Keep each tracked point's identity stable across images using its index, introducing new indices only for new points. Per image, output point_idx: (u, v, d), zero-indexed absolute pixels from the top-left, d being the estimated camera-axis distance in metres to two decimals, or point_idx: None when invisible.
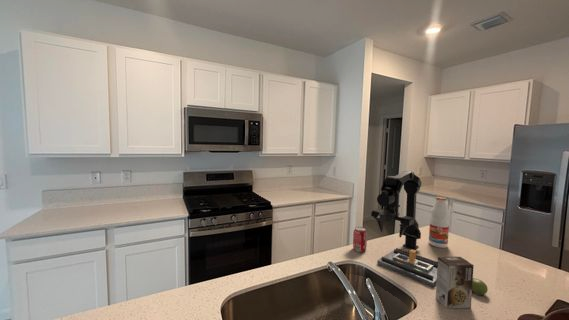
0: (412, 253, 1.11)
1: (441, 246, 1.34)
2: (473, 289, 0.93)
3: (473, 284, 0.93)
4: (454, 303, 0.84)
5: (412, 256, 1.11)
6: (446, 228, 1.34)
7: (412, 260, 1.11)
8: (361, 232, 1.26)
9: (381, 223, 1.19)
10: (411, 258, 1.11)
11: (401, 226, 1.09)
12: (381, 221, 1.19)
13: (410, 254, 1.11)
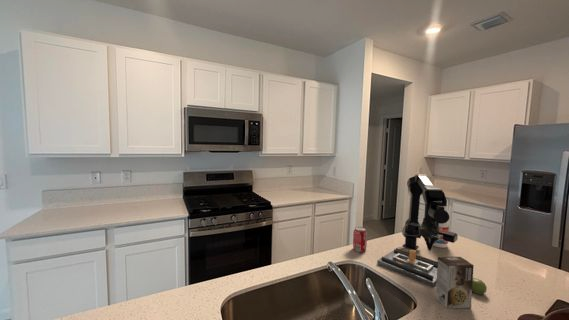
0: (412, 253, 1.11)
1: (441, 246, 1.34)
2: (472, 288, 0.93)
3: (472, 283, 0.93)
4: (454, 303, 0.84)
5: (412, 256, 1.11)
6: (446, 228, 1.34)
7: (412, 260, 1.11)
8: (361, 232, 1.26)
9: (429, 241, 1.06)
10: (411, 258, 1.11)
11: (432, 239, 1.03)
12: (429, 239, 1.06)
13: (410, 254, 1.11)
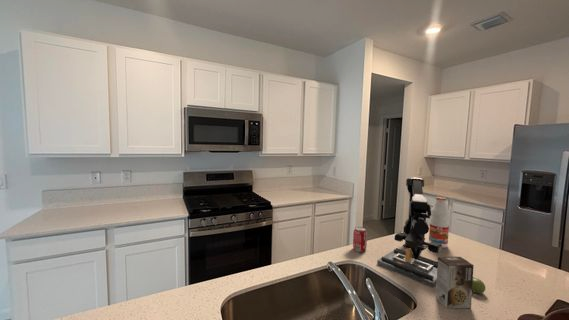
0: (408, 252, 1.12)
1: None
2: None
3: None
4: (454, 303, 0.84)
5: (408, 255, 1.12)
6: (446, 228, 1.34)
7: (408, 259, 1.12)
8: (361, 232, 1.26)
9: (415, 251, 1.11)
10: (407, 256, 1.12)
11: (418, 249, 1.08)
12: (415, 248, 1.11)
13: (406, 253, 1.13)
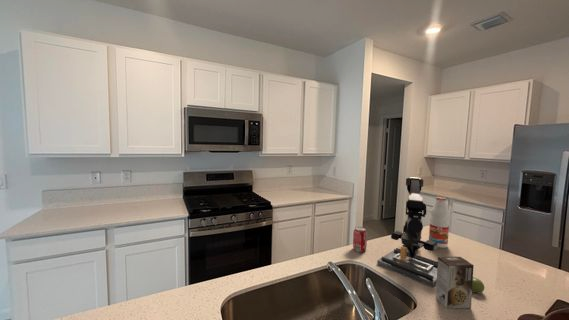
0: (403, 250, 1.14)
1: (441, 246, 1.34)
2: None
3: None
4: (454, 303, 0.84)
5: (403, 253, 1.14)
6: (446, 228, 1.34)
7: (403, 257, 1.14)
8: (361, 232, 1.26)
9: (411, 249, 1.12)
10: (402, 255, 1.14)
11: (414, 248, 1.09)
12: (411, 247, 1.12)
13: (401, 251, 1.14)
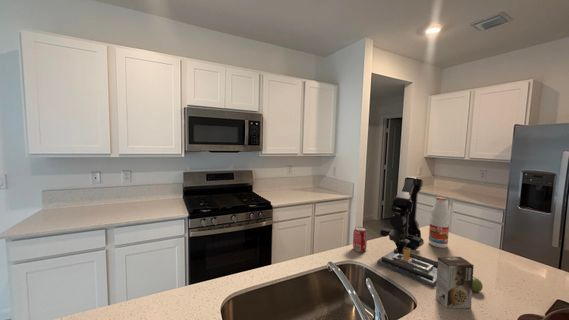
0: (406, 251, 1.13)
1: (441, 246, 1.34)
2: None
3: None
4: (454, 303, 0.84)
5: (406, 254, 1.13)
6: (446, 228, 1.34)
7: (406, 258, 1.13)
8: (361, 232, 1.26)
9: (399, 245, 1.16)
10: (405, 256, 1.13)
11: (401, 244, 1.13)
12: (399, 243, 1.16)
13: (404, 252, 1.13)
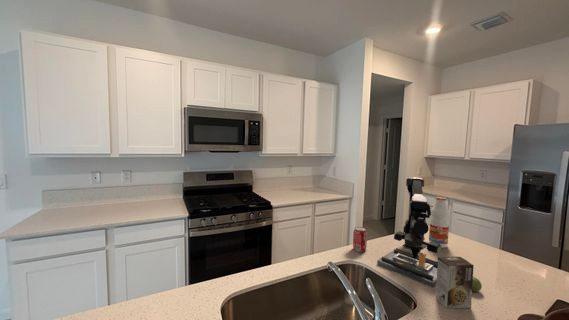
0: (422, 256, 1.07)
1: (441, 246, 1.34)
2: None
3: None
4: (454, 303, 0.84)
5: (422, 259, 1.07)
6: (446, 228, 1.34)
7: (422, 264, 1.08)
8: (361, 232, 1.26)
9: None
10: (420, 261, 1.08)
11: (416, 248, 1.08)
12: (415, 248, 1.11)
13: (420, 257, 1.08)
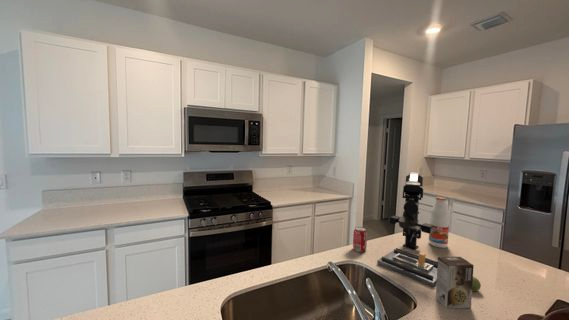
0: (421, 256, 1.08)
1: (441, 246, 1.34)
2: None
3: None
4: (454, 303, 0.84)
5: (421, 259, 1.08)
6: (446, 228, 1.34)
7: (421, 263, 1.08)
8: (361, 232, 1.26)
9: (409, 232, 1.13)
10: (420, 261, 1.08)
11: (411, 231, 1.11)
12: (409, 230, 1.14)
13: (419, 257, 1.08)
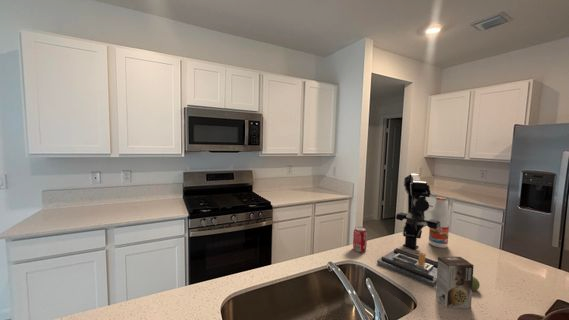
0: (421, 256, 1.08)
1: (441, 246, 1.34)
2: None
3: None
4: (454, 303, 0.84)
5: (421, 259, 1.08)
6: (446, 228, 1.34)
7: (421, 263, 1.08)
8: (361, 232, 1.26)
9: (415, 228, 1.19)
10: (420, 261, 1.08)
11: (418, 226, 1.16)
12: (415, 226, 1.19)
13: (419, 257, 1.08)
